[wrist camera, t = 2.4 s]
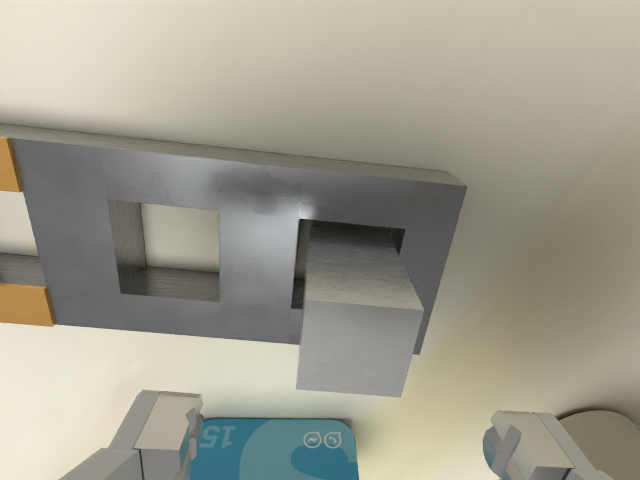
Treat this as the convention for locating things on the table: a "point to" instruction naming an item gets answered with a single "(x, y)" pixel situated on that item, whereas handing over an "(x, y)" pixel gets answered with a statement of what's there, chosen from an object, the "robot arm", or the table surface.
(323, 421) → the data package
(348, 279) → the steel peg
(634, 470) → the travel mug
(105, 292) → the hole rail
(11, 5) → the table surface
